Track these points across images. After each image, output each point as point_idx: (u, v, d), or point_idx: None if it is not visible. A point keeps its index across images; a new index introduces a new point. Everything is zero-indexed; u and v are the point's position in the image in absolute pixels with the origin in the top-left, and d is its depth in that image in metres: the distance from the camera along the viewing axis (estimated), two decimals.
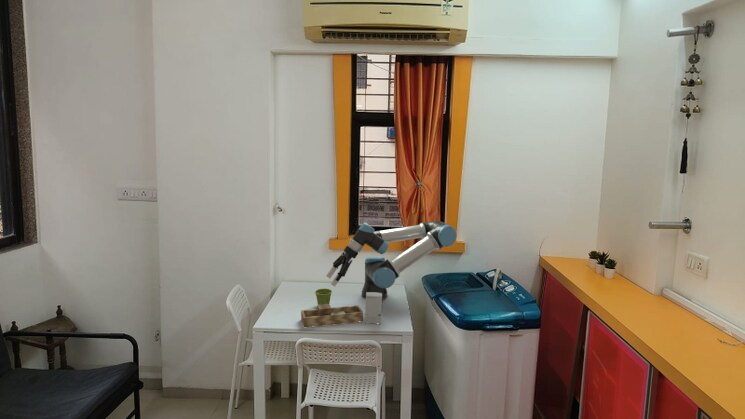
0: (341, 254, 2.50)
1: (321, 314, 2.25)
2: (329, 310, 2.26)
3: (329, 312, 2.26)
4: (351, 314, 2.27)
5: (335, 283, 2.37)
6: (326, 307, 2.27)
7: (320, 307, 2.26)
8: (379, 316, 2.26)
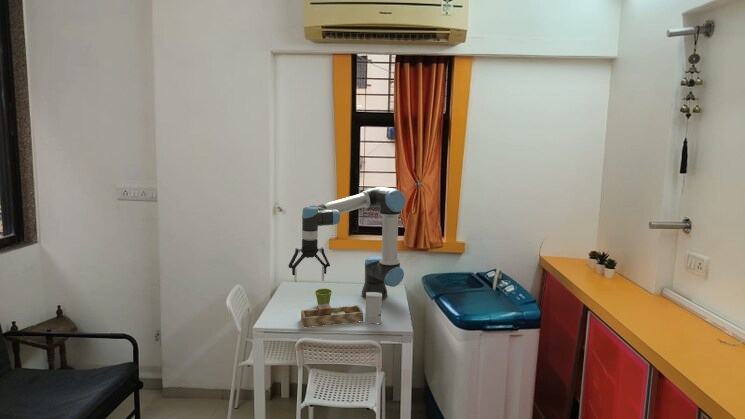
0: (295, 253, 2.19)
1: (321, 314, 2.25)
2: (329, 310, 2.26)
3: (329, 312, 2.26)
4: (351, 314, 2.27)
5: None
6: (326, 307, 2.27)
7: (320, 307, 2.26)
8: (379, 316, 2.26)
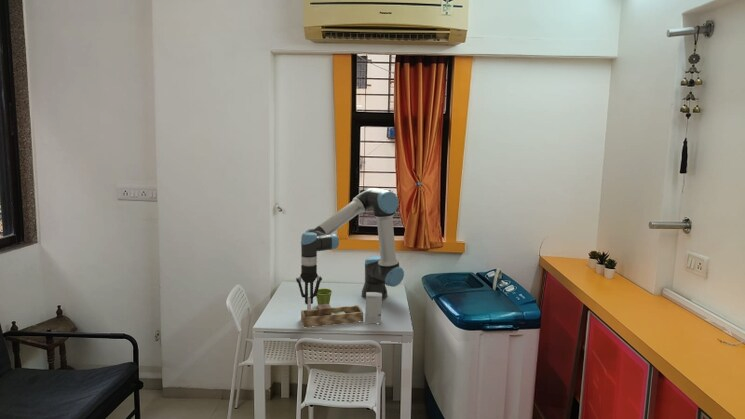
0: (298, 283, 2.21)
1: (321, 314, 2.25)
2: (329, 310, 2.26)
3: (329, 312, 2.26)
4: (351, 314, 2.27)
5: None
6: (326, 307, 2.27)
7: (320, 307, 2.26)
8: (379, 316, 2.26)
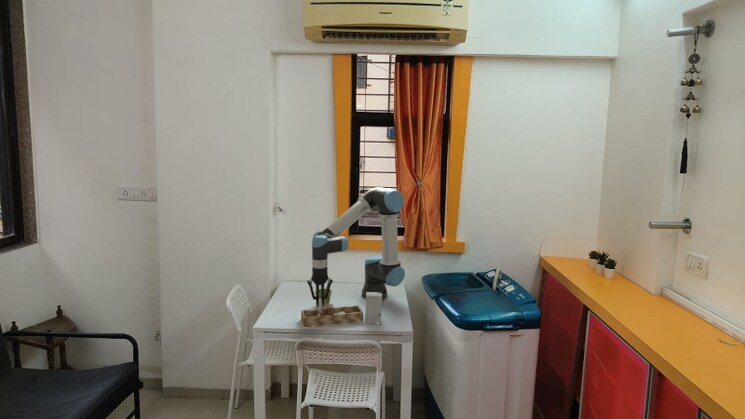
0: (309, 285, 2.23)
1: (324, 314, 2.25)
2: (332, 310, 2.26)
3: (332, 312, 2.26)
4: (351, 314, 2.27)
5: None
6: (329, 307, 2.27)
7: (323, 307, 2.27)
8: (379, 316, 2.26)
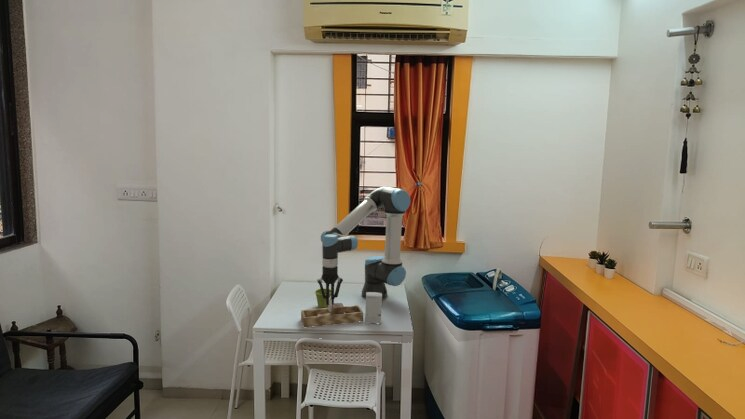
0: (319, 284, 2.24)
1: (334, 313, 2.27)
2: (342, 309, 2.27)
3: (342, 311, 2.27)
4: (351, 314, 2.27)
5: None
6: (339, 306, 2.28)
7: (333, 306, 2.28)
8: (379, 316, 2.26)
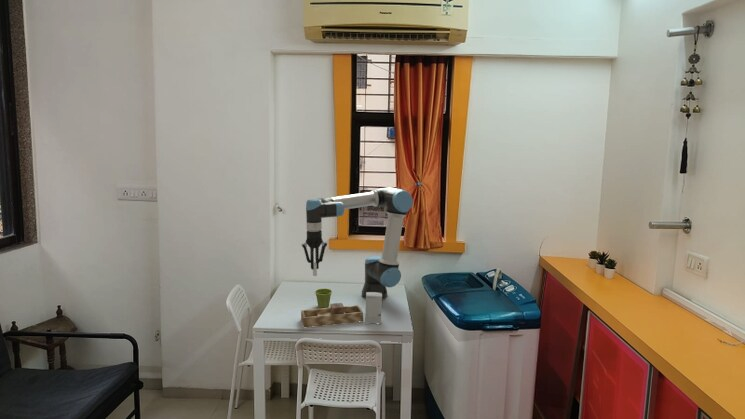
0: (304, 248, 2.26)
1: (334, 313, 2.27)
2: (342, 309, 2.27)
3: (342, 311, 2.27)
4: (351, 314, 2.27)
5: None
6: (339, 306, 2.28)
7: (333, 306, 2.28)
8: (379, 316, 2.26)
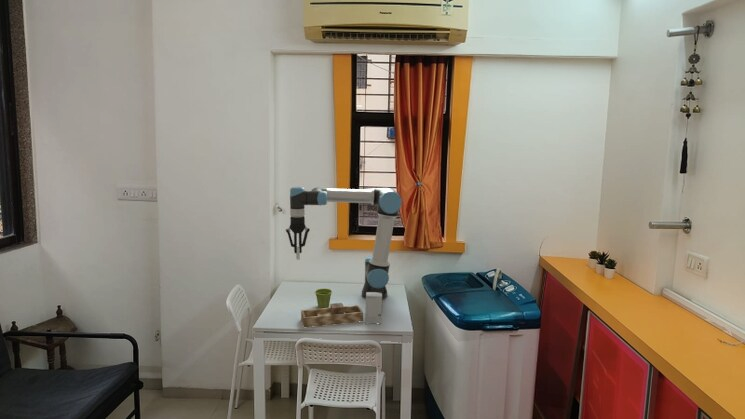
0: None
1: (334, 313, 2.27)
2: (342, 309, 2.27)
3: (342, 311, 2.27)
4: (351, 314, 2.27)
5: None
6: (339, 306, 2.28)
7: (333, 306, 2.28)
8: (379, 316, 2.26)
